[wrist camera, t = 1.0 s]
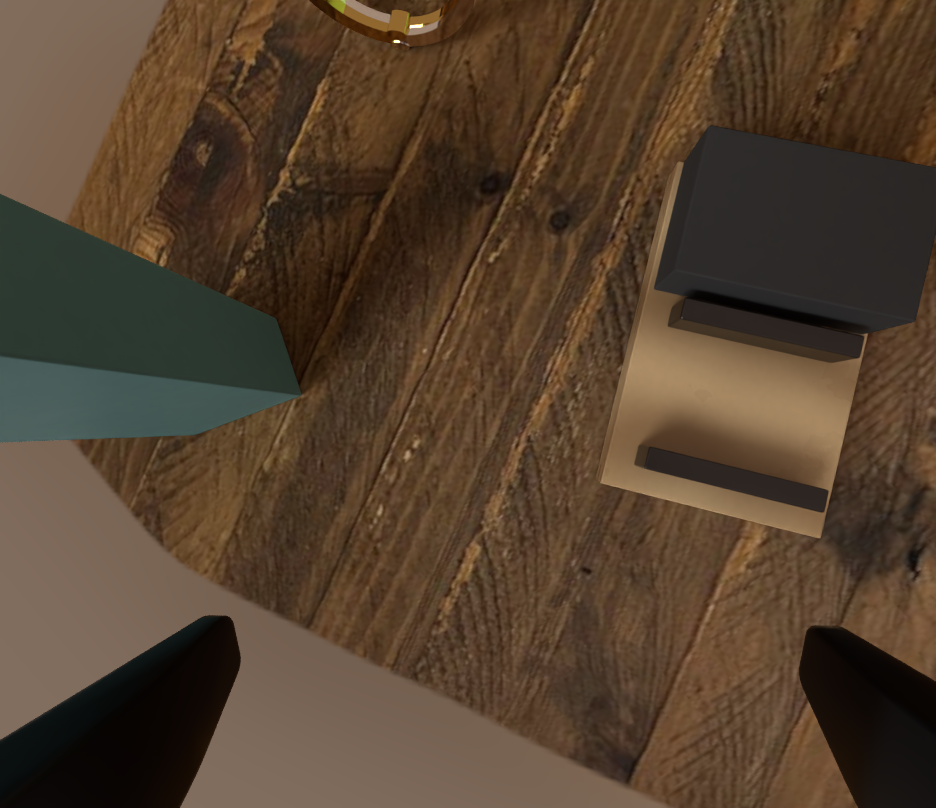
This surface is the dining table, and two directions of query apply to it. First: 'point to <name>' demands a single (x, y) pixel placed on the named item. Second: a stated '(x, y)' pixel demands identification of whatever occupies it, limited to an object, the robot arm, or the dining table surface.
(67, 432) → the back pad
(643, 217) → the dining table surface
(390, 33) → the ring
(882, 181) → the seat frame
